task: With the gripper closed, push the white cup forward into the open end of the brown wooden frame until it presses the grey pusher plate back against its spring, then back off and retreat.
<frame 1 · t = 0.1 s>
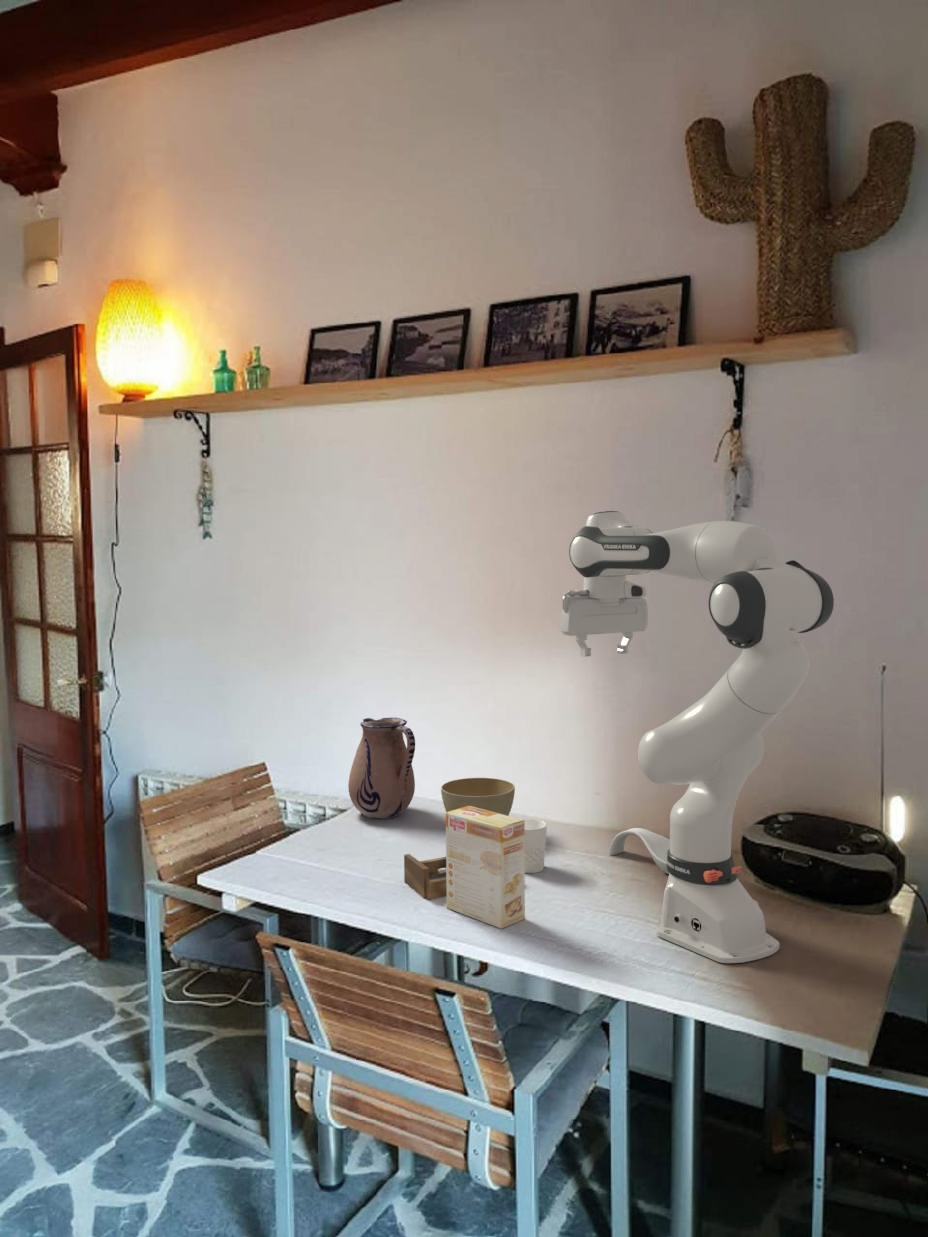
hand: (604, 654, 200), 48 cm above the table, tool pointing down, fingers open, 8 cm apart
flower pot: (478, 835, 232), on the table
spoon rest: (657, 867, 210), on the table
white cup: (528, 869, 209), on the table
coffeecake box: (485, 914, 184), on the table
ceramic pitcher: (387, 816, 249), on the table
pusher: (450, 869, 200), point 3 cm above the table, slide at 0.0 cm
brown wooden frame: (468, 879, 202), on the table
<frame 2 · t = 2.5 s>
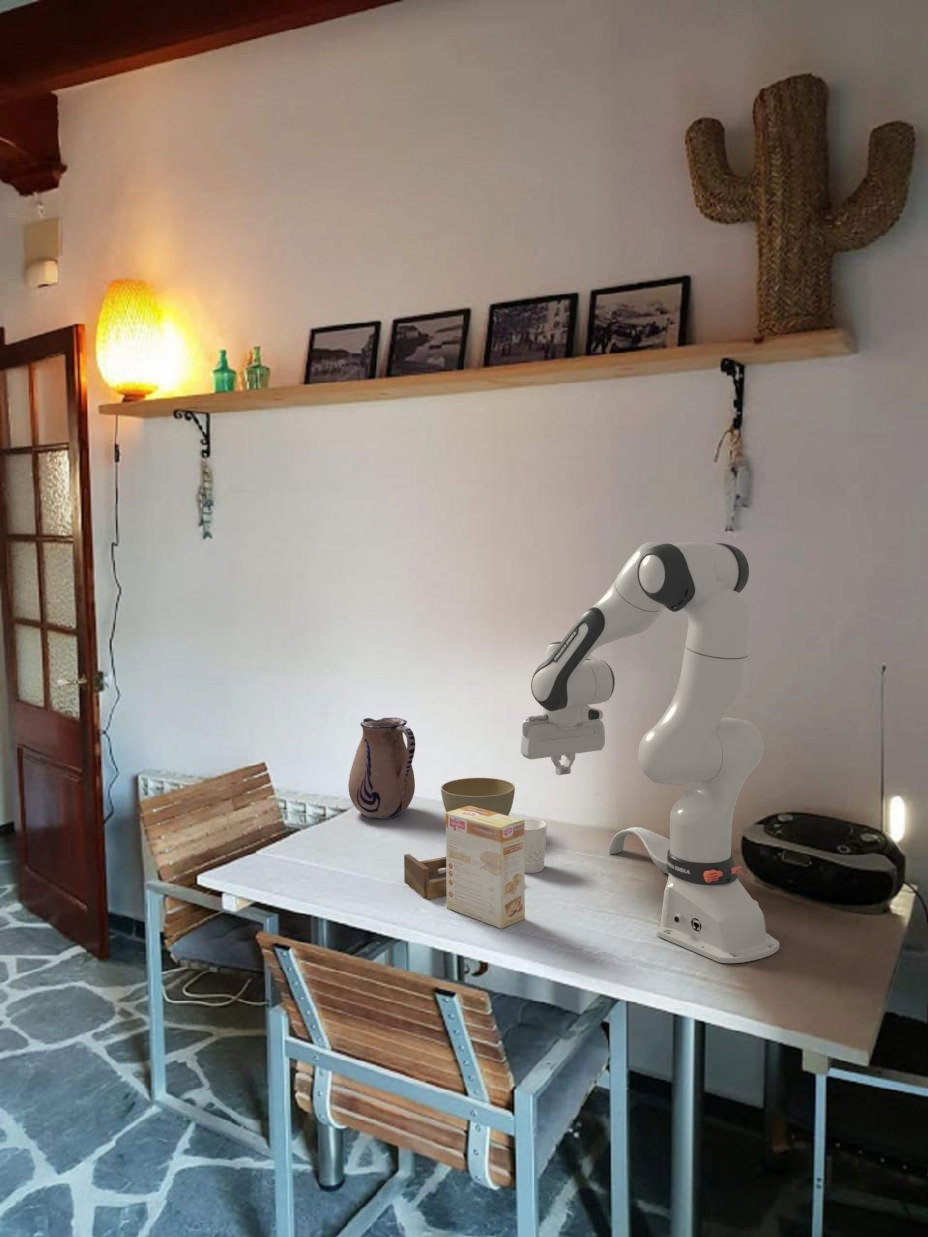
hand: (563, 774, 211), 20 cm above the table, tool pointing down, fingers closed
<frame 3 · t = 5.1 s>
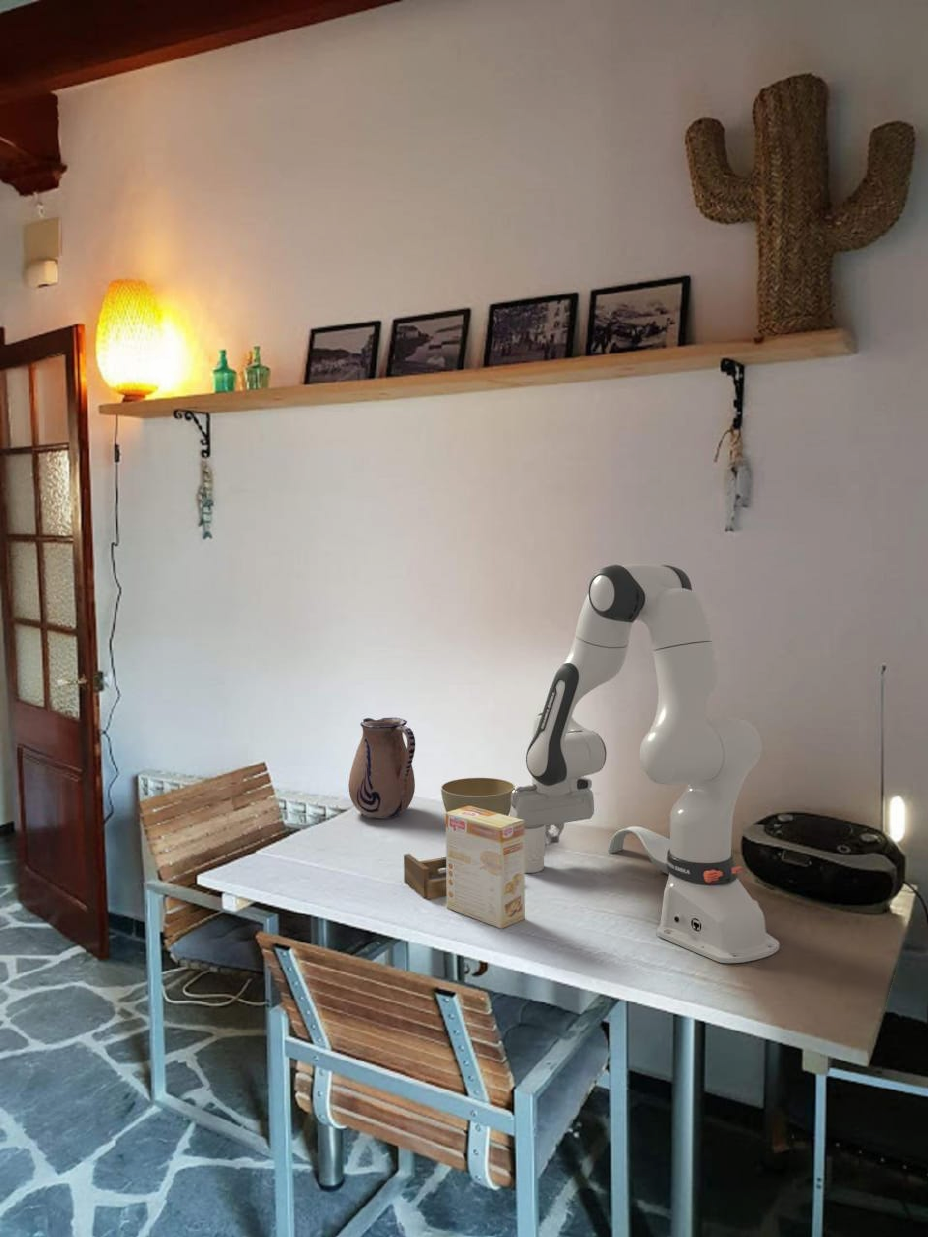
hand: (552, 843, 211), 5 cm above the table, tool pointing down, fingers closed
white cup: (528, 868, 209), on the table, touching gripper
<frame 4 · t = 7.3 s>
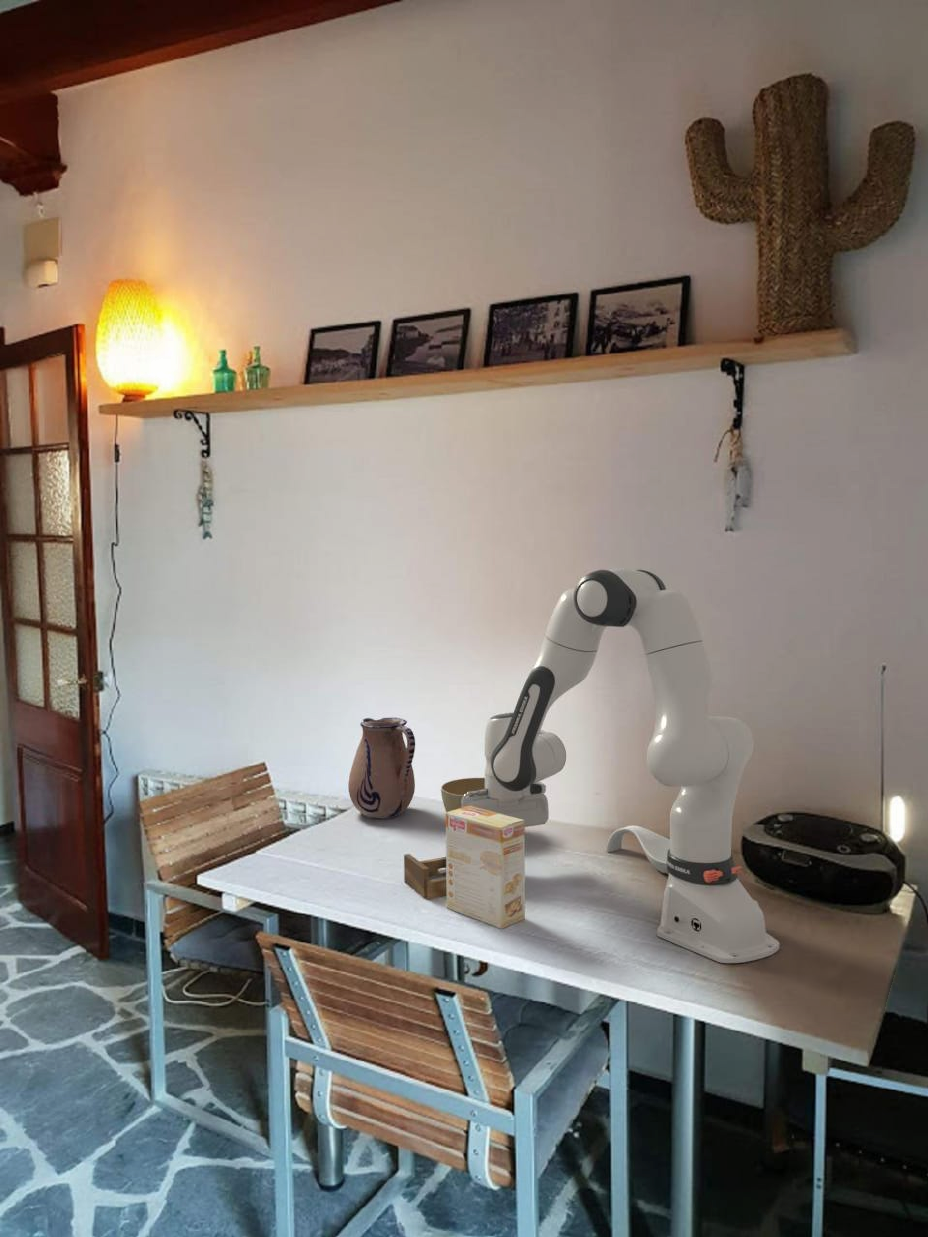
hand: (504, 848, 206), 5 cm above the table, tool pointing down, fingers closed
white cup: (493, 870, 205), point 1 cm above the table, touching gripper
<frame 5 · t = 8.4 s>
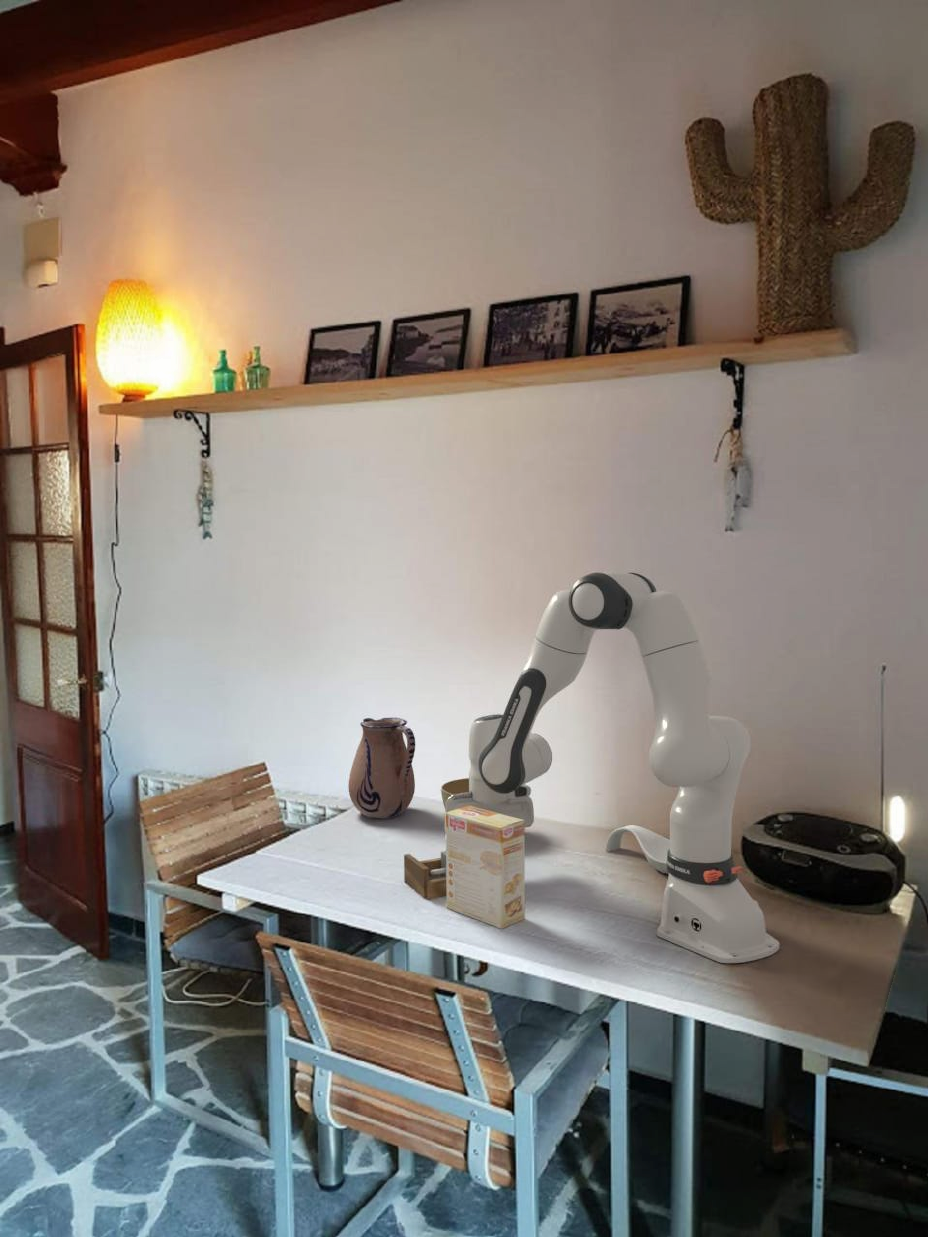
hand: (489, 852, 205), 5 cm above the table, tool pointing down, fingers closed
white cup: (478, 873, 203), point 1 cm above the table, touching gripper, pusher
pusher: (443, 871, 199), point 3 cm above the table, slide at 1.7 cm, touching white cup
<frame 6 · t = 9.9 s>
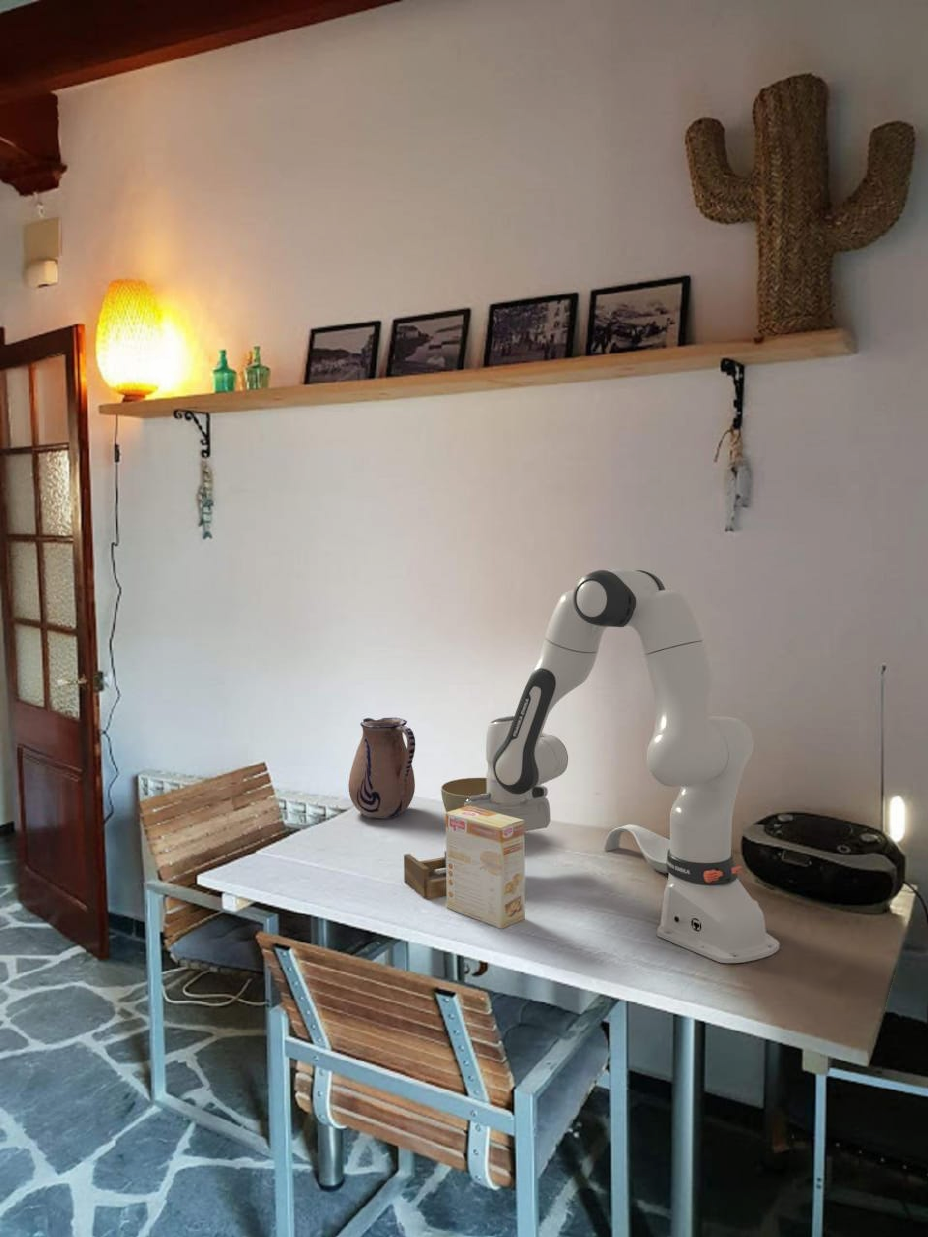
hand: (507, 853, 205), 4 cm above the table, tool pointing down, fingers closed
white cup: (476, 879, 203), on the table
pusher: (447, 870, 199), point 3 cm above the table, slide at 0.8 cm
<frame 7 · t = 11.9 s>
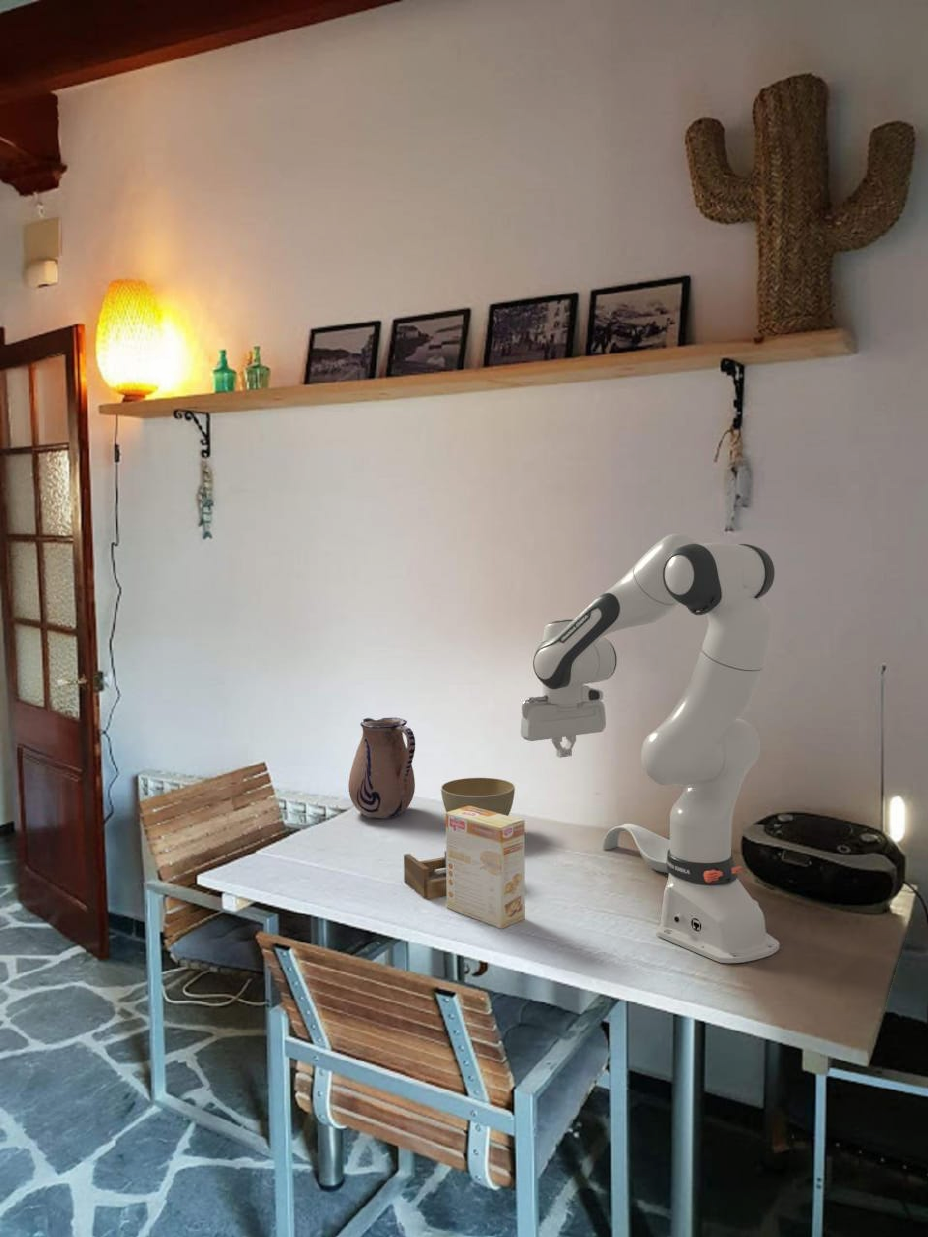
hand: (564, 756, 207), 25 cm above the table, tool pointing down, fingers closed
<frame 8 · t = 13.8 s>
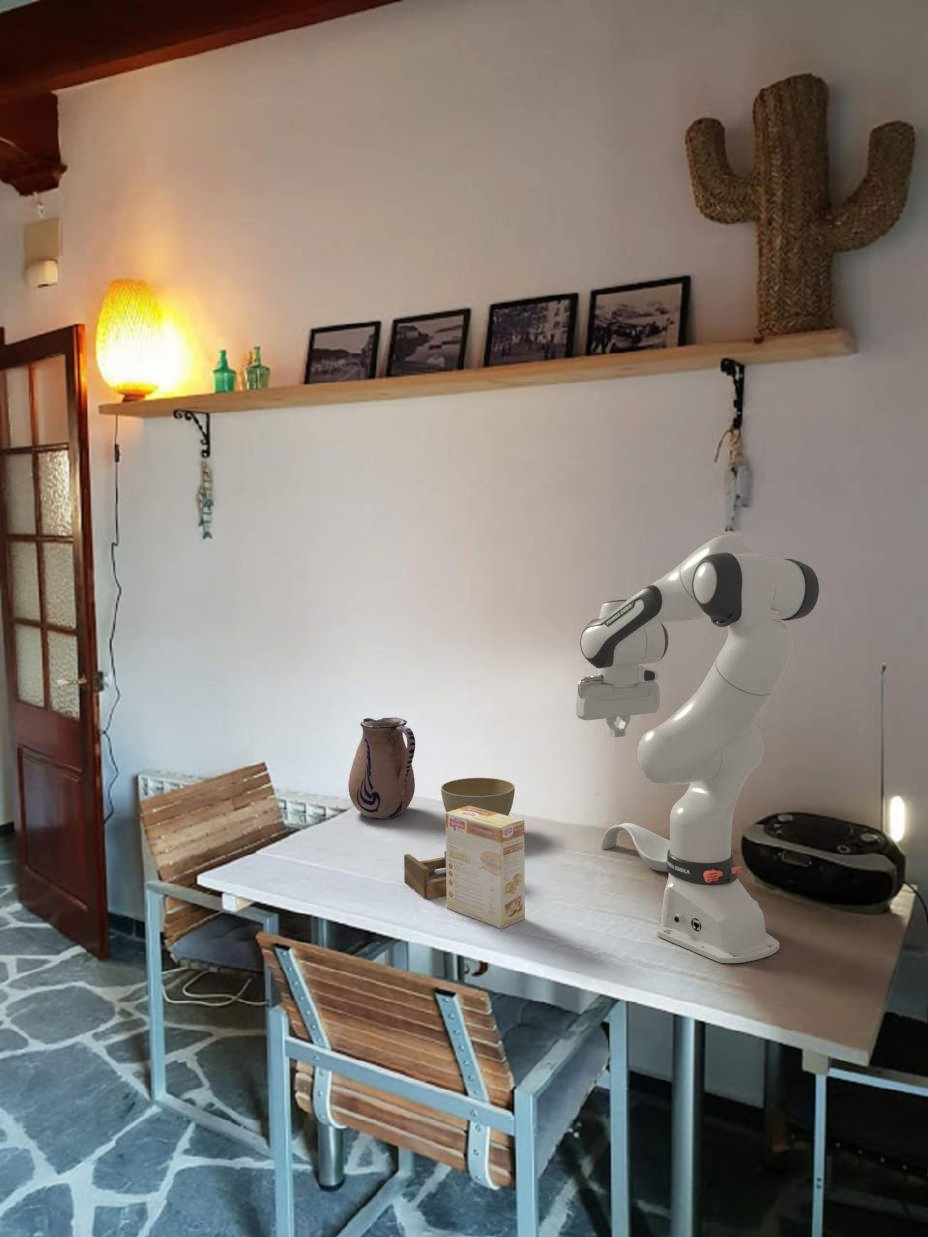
hand: (617, 736, 207), 29 cm above the table, tool pointing down, fingers closed
at the end: white cup inside the target area on the brown wooden frame (0.4 cm from its centre), point 0.0 cm above the brown wooden frame's base; white cup tilted 0°; white cup moved 12.9 cm from its start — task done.
